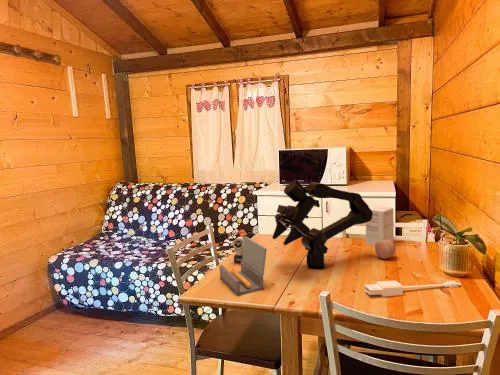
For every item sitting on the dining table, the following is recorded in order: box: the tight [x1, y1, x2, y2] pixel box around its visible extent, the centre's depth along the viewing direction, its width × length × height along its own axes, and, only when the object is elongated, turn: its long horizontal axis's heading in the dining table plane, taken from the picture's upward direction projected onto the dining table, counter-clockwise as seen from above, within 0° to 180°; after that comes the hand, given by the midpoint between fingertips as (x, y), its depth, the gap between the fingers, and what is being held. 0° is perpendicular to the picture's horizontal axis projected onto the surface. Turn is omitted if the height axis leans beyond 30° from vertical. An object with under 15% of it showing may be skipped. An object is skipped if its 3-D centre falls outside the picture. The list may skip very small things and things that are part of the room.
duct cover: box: [242, 236, 267, 276], centre depth 133 cm, size 10×18×1 cm
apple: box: [374, 239, 396, 260], centre depth 149 cm, size 8×8×8 cm
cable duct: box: [219, 261, 265, 297], centre depth 132 cm, size 10×18×5 cm, turn 23°
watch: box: [232, 236, 246, 264], centre depth 154 cm, size 6×8×11 cm
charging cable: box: [363, 280, 462, 298], centre depth 118 cm, size 5×32×3 cm, turn 96°
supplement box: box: [365, 205, 395, 246], centre depth 168 cm, size 10×9×17 cm
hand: (278, 241), depth 137 cm, fingers open, 9 cm apart
